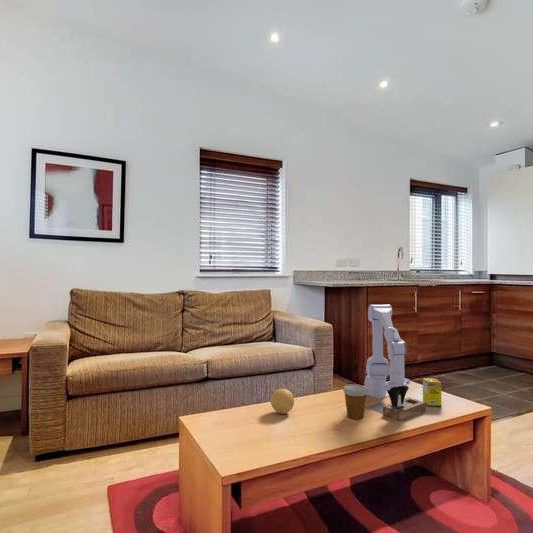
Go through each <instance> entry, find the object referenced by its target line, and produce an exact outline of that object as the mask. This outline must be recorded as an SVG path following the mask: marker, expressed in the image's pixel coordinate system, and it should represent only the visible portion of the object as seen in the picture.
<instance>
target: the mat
mask: <svg viewBox="0 0 533 533" xmlns="http://www.w3.org/2000/svg"><path fill="white" fill-rule="evenodd" d="M385 405H386V404H384V403H381V402H378V403H375V404H372V405H369V406H365V408H364V409H367V410H370V411H374V412H376V413H379V414H381V415H383V406H385Z"/></svg>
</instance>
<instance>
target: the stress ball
mask: <svg viewBox="0 0 533 533" xmlns="http://www.w3.org/2000/svg"><path fill="white" fill-rule="evenodd" d="M270 405H271V407H272V408H273V410H274V411H275V412H276V413H278V414H280V415H286V414H287V413H289V412H291V410H293V408H294V405H295V397H294V395H293V393H292V392H291V391H290V390H289V389H287V388H278V389H276V390H274V391H273V393H272V394H271V398H270Z"/></svg>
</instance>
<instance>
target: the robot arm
mask: <svg viewBox="0 0 533 533" xmlns="http://www.w3.org/2000/svg"><path fill="white" fill-rule="evenodd" d="M392 316H393V308H392V305H391V304H369V305H368V307H367V319H368V321H369V322H371V326H372V328H371V330H372V332H371V334H372V335H371V336H372V338H371V339H372V355H371V356H370V357H369V358H367V360H366V367H365V370H366V374H367V375H366V376H365V379H364V387H366V390H367V394H366V396H369V397H372V398H375V399H378V400H382V399H385V398H388V397H389V399H390V404H392V405H393V406H397V404H398V396H399V393H401V404H403V402H404V399H405V398H406V395H407V392H408V391H409V386H408V385H410V382H411V380H410V379H409V378H406V377H405V372H406V371H405V356H406V355H407V354H408V348H407V344H406V341H404V340H403V339H402V338H401V337H400V334H399V331H398V329H397V328H395V327H394V325H393V321H392ZM383 329H384V330H383ZM383 338H384V339H385V341H386V343H387V347H386V348H387V350H386V351H387V355H388V359H389V360H388V359H387V358H385V357H384V339H383ZM388 377H389V381H388V382H387V379H388Z"/></svg>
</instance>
